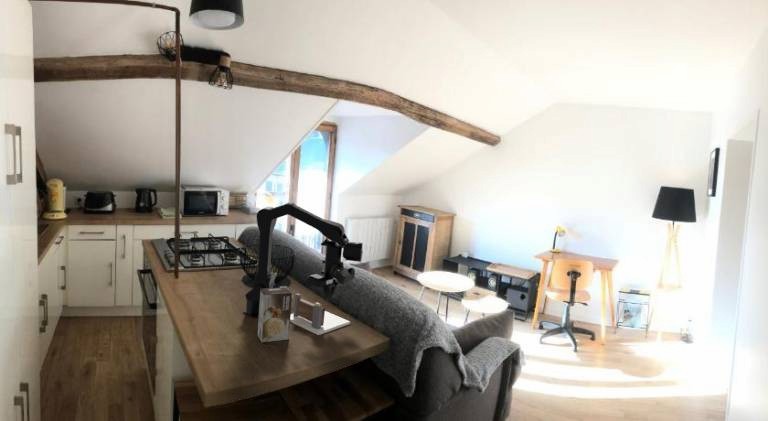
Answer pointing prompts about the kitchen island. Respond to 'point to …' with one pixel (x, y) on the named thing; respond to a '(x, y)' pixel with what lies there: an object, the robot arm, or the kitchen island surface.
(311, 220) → the robot arm
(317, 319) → the gate frame
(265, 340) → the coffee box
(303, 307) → the gate
